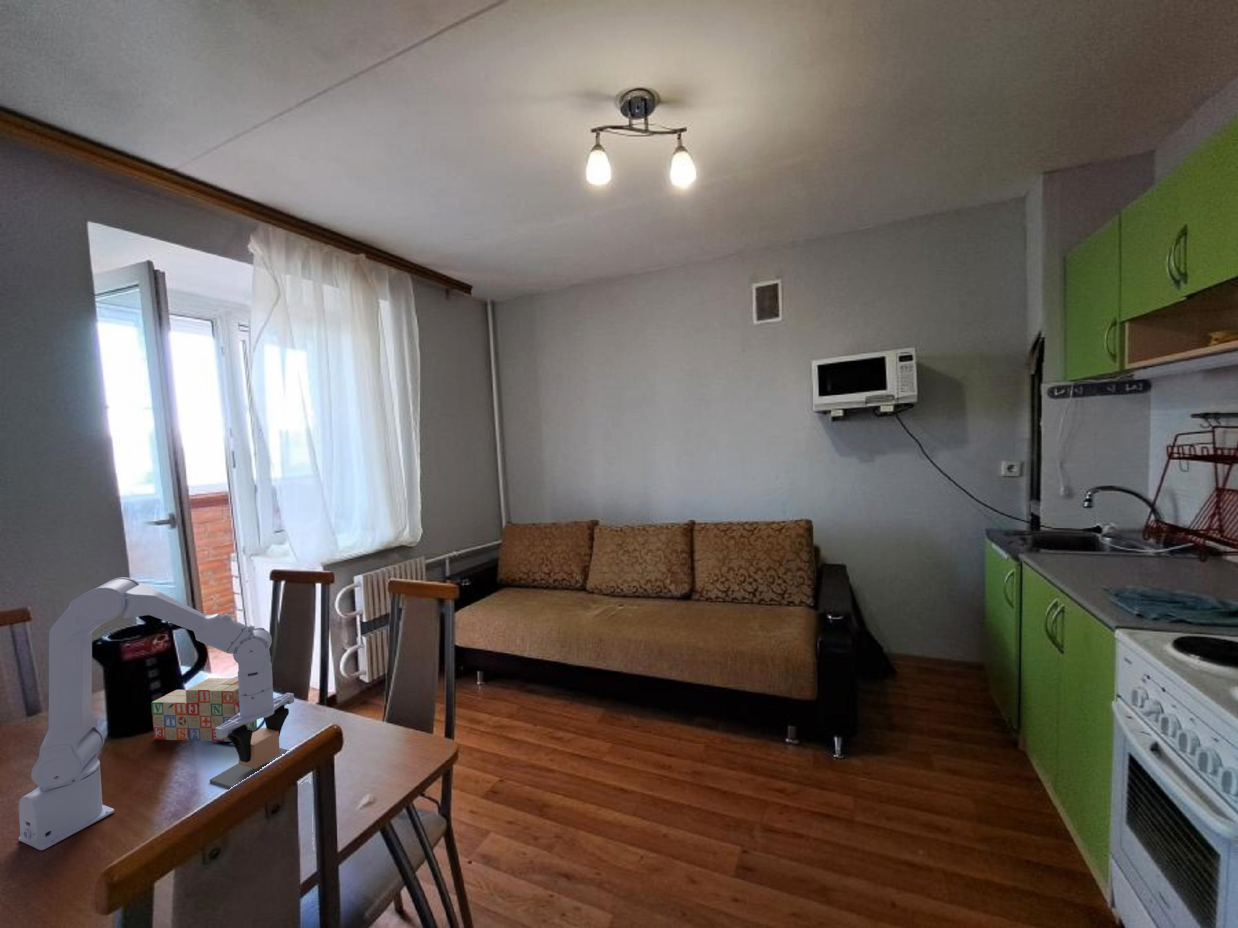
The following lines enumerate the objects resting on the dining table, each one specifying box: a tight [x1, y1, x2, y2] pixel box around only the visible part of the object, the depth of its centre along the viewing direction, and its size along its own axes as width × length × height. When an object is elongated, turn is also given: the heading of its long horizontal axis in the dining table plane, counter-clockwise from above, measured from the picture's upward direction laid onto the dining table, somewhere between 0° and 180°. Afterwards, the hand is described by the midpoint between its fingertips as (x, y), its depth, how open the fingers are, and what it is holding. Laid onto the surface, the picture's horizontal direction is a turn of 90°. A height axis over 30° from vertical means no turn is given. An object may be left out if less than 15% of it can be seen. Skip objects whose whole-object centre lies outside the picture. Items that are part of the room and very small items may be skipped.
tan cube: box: [238, 727, 281, 769], centre depth 102 cm, size 5×5×5 cm
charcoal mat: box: [209, 747, 289, 790], centre depth 102 cm, size 12×12×1 cm
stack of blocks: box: [151, 677, 258, 743], centre depth 117 cm, size 21×6×12 cm, turn 85°
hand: (259, 752), depth 102 cm, fingers closed on tan cube, 5 cm apart
